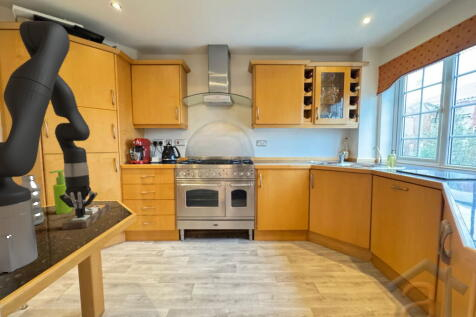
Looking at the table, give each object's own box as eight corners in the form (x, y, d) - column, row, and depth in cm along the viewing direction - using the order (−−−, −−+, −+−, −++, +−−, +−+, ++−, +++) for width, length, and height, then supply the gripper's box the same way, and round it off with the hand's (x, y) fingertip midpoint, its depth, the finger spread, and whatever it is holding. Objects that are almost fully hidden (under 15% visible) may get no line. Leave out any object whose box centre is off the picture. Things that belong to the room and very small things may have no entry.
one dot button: (100, 214, 92) (100, 207, 92) (89, 215, 91) (89, 208, 91) (105, 210, 97) (104, 204, 96) (94, 211, 96) (94, 205, 96)
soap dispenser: (50, 214, 93) (45, 171, 91) (66, 209, 100) (62, 168, 98) (59, 215, 91) (54, 171, 90) (75, 210, 98) (71, 169, 96)
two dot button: (84, 226, 79) (83, 218, 79) (71, 227, 79) (70, 219, 78) (90, 221, 84) (89, 214, 84) (78, 222, 83) (77, 215, 83)
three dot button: (92, 217, 86) (92, 210, 85) (81, 218, 85) (80, 211, 85) (98, 213, 90) (97, 206, 90) (87, 214, 89) (86, 207, 89)
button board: (86, 227, 78) (86, 221, 78) (63, 229, 77) (62, 223, 76) (111, 209, 99) (110, 204, 98) (92, 210, 97) (92, 205, 97)
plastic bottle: (49, 221, 85) (44, 174, 83) (31, 228, 78) (25, 177, 76) (35, 221, 85) (30, 174, 83) (16, 228, 78) (10, 177, 77)
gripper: (50, 176, 75) (55, 222, 76) (90, 175, 77) (94, 219, 79) (64, 173, 82) (68, 214, 84) (100, 171, 84) (103, 212, 86)
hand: (80, 216), depth 81 cm, fingers closed
